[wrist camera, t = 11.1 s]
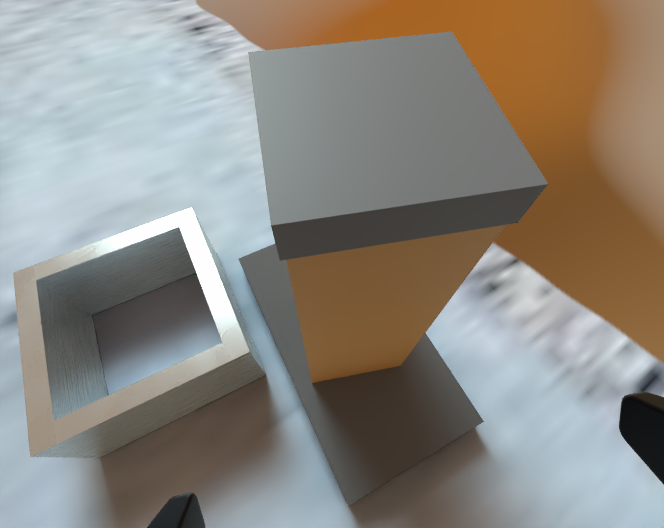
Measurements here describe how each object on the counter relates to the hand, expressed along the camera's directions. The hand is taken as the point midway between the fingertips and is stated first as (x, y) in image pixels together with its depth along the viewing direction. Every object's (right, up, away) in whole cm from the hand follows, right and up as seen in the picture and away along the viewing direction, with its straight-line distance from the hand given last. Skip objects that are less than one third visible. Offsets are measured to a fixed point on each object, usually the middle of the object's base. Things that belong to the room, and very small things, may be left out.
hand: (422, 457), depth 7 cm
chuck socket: (-10, 0, +10) cm, 14 cm away
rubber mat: (-1, 0, +10) cm, 11 cm away
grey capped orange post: (-1, +1, +9) cm, 10 cm away
